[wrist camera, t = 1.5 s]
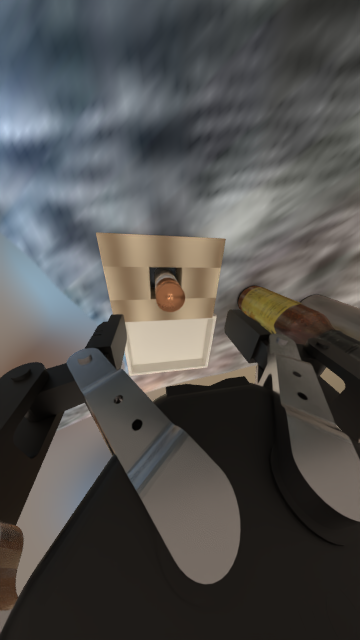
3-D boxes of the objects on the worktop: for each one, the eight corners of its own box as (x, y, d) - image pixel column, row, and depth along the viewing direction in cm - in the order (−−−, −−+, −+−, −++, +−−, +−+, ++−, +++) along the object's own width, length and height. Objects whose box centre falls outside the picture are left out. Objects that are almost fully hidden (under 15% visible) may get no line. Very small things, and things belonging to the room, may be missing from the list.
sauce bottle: (232, 310, 32) (323, 391, 15) (242, 283, 29) (366, 344, 12) (258, 312, 34) (366, 387, 17) (269, 285, 31) (414, 344, 14)
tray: (210, 308, 31) (216, 315, 28) (202, 357, 38) (207, 367, 35) (122, 311, 28) (118, 320, 25) (131, 363, 35) (129, 375, 32)
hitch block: (209, 238, 24) (225, 238, 19) (201, 304, 30) (212, 317, 25) (109, 233, 22) (95, 232, 17) (121, 307, 28) (114, 322, 22)
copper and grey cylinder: (172, 265, 25) (186, 284, 15) (171, 283, 27) (184, 311, 17) (153, 265, 25) (155, 284, 15) (154, 283, 26) (156, 312, 16)
